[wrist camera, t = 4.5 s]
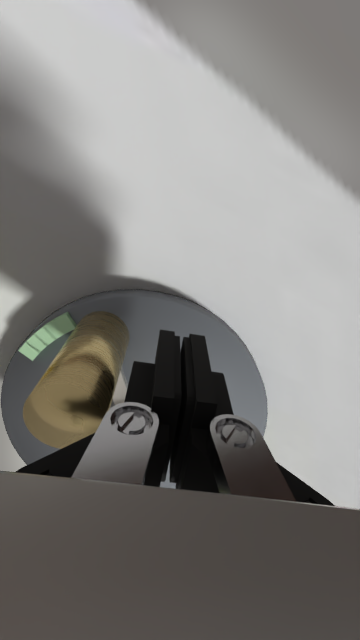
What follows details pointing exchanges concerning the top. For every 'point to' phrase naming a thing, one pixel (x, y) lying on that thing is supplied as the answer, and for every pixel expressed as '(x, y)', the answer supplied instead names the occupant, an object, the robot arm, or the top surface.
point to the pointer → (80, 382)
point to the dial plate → (131, 356)
